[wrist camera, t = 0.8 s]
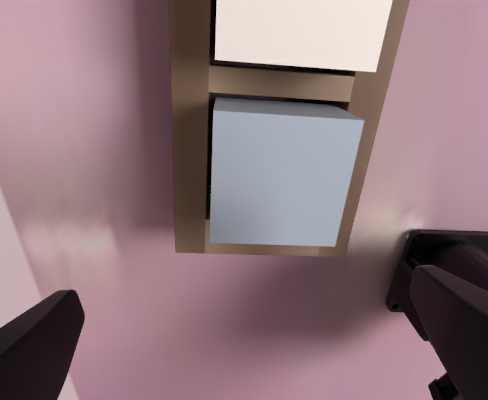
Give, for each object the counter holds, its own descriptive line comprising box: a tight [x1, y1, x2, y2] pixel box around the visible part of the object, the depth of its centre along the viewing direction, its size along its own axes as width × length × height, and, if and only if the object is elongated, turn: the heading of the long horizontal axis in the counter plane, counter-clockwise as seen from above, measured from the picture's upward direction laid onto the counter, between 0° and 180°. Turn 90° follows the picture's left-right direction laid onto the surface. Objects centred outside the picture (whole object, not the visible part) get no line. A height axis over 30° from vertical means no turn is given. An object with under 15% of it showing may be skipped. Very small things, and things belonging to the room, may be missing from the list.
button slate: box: [209, 97, 365, 247], centre depth 14 cm, size 5×5×4 cm
